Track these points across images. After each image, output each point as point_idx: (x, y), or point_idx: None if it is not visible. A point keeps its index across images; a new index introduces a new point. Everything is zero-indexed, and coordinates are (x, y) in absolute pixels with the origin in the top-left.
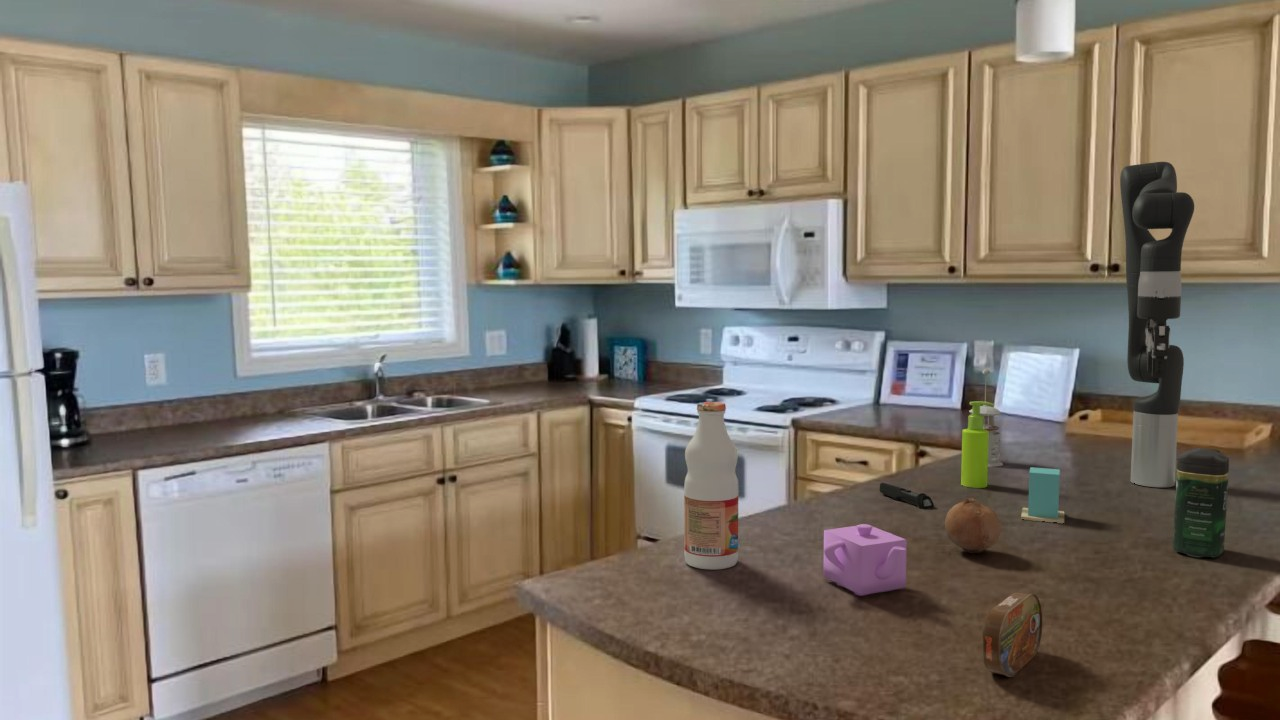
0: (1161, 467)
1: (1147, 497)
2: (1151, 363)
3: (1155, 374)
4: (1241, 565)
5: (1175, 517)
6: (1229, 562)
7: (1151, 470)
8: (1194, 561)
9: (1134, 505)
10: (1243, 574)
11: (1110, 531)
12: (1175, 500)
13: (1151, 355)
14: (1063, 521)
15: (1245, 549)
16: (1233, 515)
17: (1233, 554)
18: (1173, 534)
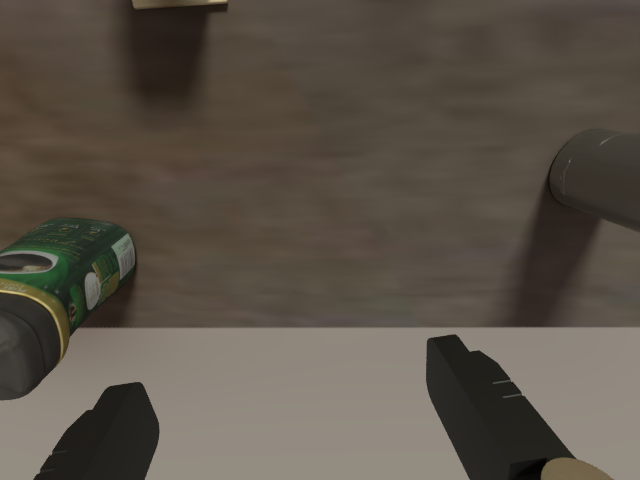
0: (581, 194)
1: (461, 165)
2: (457, 404)
3: (82, 417)
4: None
5: (19, 240)
6: None
7: (578, 174)
8: None
9: (383, 145)
10: None
11: (135, 111)
12: (4, 252)
13: (502, 475)
14: (134, 6)
15: (158, 303)
16: (374, 288)
17: None
18: (41, 226)
